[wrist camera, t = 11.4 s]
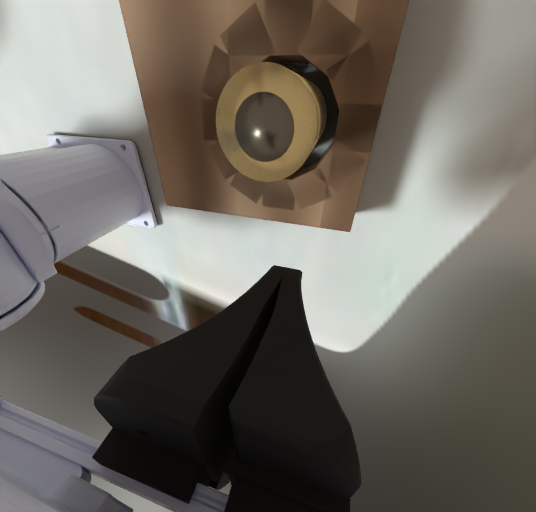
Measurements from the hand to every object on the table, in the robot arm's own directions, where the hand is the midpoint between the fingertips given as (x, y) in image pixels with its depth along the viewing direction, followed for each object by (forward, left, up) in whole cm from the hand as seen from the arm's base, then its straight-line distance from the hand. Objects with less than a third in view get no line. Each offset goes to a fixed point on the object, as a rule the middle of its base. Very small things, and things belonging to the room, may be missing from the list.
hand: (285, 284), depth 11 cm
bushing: (-2, +6, -9) cm, 11 cm away
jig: (-4, +6, -9) cm, 12 cm away
